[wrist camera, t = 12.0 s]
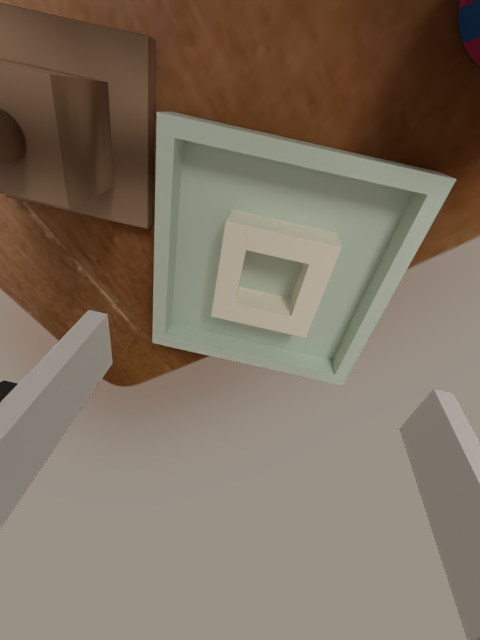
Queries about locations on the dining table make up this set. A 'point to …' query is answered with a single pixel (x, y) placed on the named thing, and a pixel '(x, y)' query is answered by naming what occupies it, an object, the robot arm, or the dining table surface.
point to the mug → (470, 27)
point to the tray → (273, 272)
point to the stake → (77, 116)
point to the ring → (277, 241)
